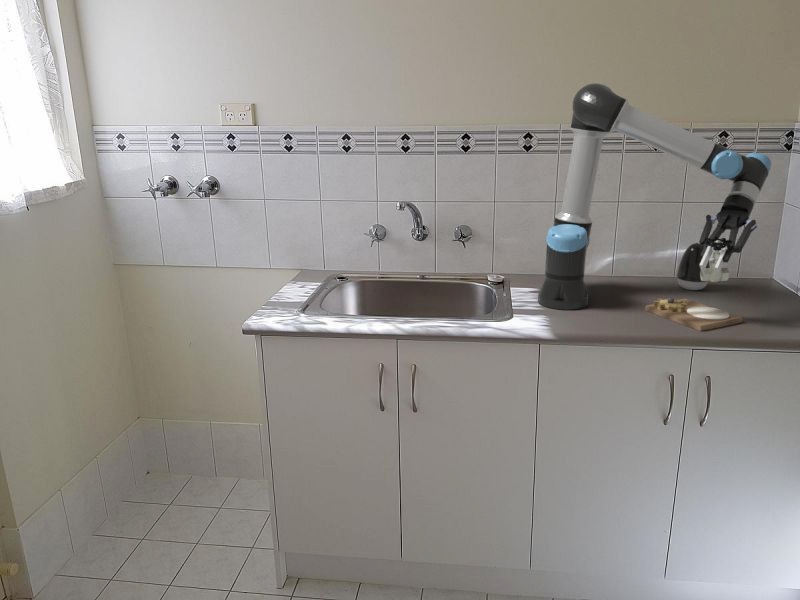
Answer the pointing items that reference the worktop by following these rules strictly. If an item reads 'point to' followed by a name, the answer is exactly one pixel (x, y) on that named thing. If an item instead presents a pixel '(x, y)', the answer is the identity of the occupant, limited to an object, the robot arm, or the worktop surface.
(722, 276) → the valve
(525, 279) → the worktop surface
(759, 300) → the worktop surface
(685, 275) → the black egg-shaped capsule
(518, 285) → the worktop surface
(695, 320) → the board
